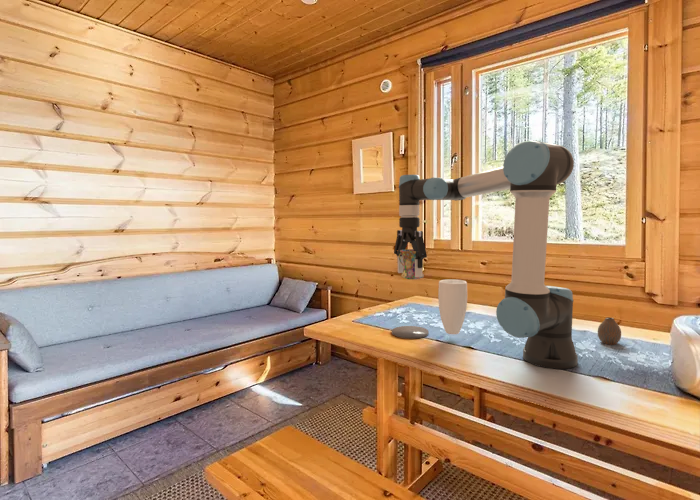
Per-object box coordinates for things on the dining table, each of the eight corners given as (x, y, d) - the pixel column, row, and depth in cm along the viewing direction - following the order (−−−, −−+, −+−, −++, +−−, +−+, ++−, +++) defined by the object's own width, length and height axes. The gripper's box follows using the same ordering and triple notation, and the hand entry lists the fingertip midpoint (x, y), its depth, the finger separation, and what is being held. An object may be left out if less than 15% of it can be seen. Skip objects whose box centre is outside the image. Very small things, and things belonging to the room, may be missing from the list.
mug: (430, 278, 152) (430, 250, 151) (412, 281, 146) (412, 251, 145) (407, 275, 161) (407, 248, 161) (390, 277, 156) (390, 249, 155)
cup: (471, 339, 148) (471, 280, 146) (461, 346, 139) (462, 284, 137) (444, 334, 154) (444, 278, 152) (433, 342, 145) (433, 282, 143)
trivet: (436, 335, 153) (436, 333, 153) (404, 341, 147) (404, 338, 147) (414, 326, 165) (414, 324, 165) (385, 331, 159) (384, 328, 159)
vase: (609, 347, 137) (610, 321, 136) (592, 341, 143) (593, 316, 143) (625, 345, 138) (626, 319, 138) (608, 339, 145) (609, 315, 144)
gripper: (437, 216, 143) (436, 278, 145) (401, 216, 164) (401, 270, 166) (419, 217, 140) (419, 279, 142) (384, 217, 161) (385, 271, 163)
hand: (409, 274), depth 154 cm, fingers closed on mug, 11 cm apart
